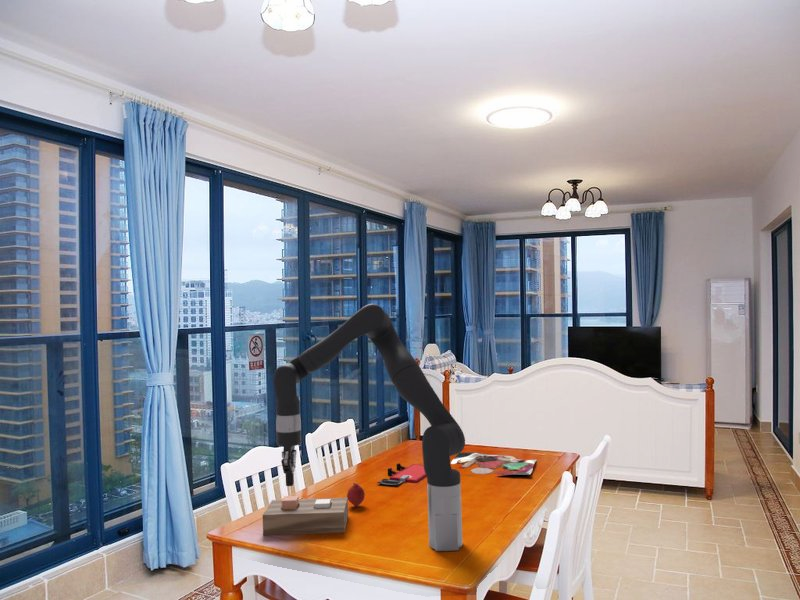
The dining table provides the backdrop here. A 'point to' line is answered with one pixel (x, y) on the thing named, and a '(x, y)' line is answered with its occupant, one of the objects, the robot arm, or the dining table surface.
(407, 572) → the dining table surface
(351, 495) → the onion
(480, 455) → the multicolored flat sheet
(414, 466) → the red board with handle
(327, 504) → the white cube
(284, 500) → the key terracotta
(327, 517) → the wooden button box
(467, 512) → the dining table surface
